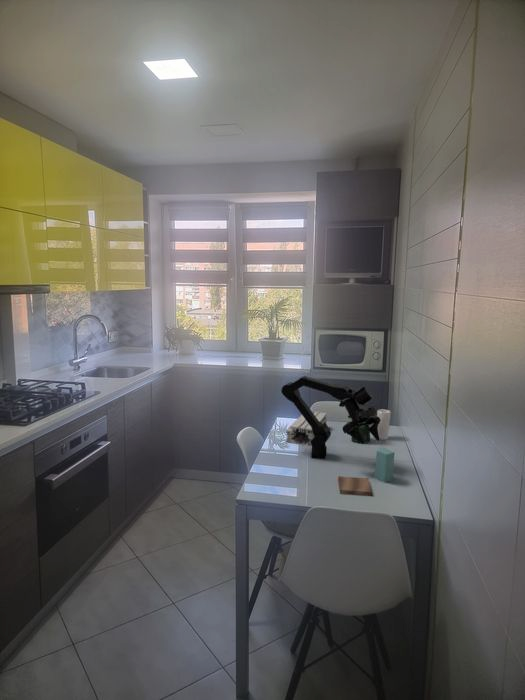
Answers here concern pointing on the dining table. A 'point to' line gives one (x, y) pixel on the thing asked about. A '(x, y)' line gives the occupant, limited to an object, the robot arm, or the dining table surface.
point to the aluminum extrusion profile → (303, 430)
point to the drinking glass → (383, 423)
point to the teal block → (384, 465)
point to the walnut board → (354, 486)
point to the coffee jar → (363, 430)
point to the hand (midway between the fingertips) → (371, 442)
